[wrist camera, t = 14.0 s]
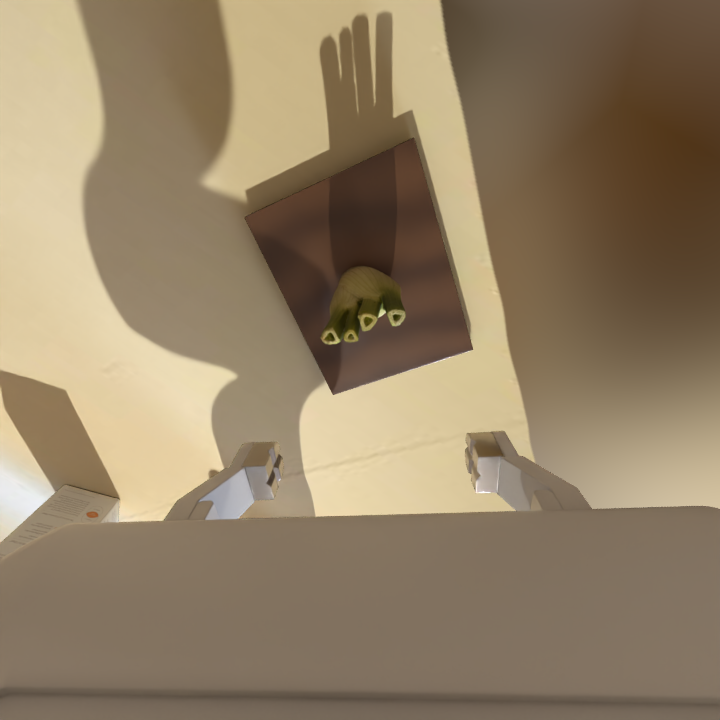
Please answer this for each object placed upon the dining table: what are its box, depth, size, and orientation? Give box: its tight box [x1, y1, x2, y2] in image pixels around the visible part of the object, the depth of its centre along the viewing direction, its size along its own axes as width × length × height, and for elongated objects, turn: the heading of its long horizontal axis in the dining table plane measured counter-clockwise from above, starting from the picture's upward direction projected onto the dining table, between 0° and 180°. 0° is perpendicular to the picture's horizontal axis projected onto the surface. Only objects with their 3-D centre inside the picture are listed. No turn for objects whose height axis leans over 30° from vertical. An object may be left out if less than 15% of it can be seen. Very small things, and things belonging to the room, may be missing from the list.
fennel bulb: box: [320, 266, 406, 345], centre depth 27 cm, size 6×5×12 cm
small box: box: [0, 485, 119, 559], centre depth 44 cm, size 8×6×13 cm
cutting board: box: [245, 138, 473, 395], centre depth 33 cm, size 20×16×2 cm
